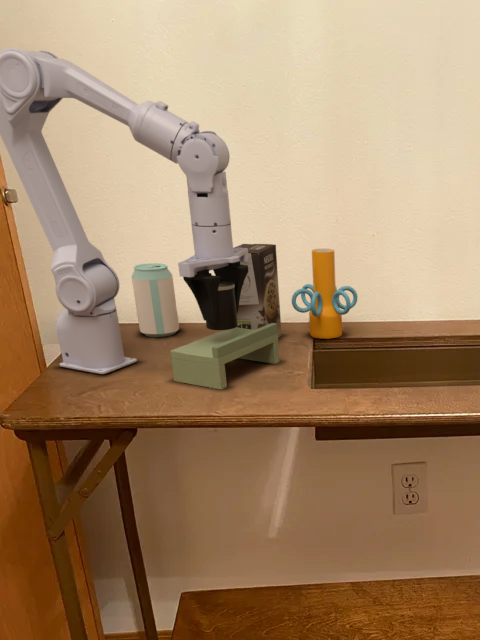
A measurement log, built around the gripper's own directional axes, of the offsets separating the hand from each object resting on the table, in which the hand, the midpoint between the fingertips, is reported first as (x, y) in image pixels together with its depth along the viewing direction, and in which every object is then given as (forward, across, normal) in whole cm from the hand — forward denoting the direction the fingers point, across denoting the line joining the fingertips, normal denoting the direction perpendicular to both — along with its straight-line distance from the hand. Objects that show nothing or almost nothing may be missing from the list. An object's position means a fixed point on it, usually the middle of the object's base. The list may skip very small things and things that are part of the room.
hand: (220, 316), depth 124 cm
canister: (+2, 0, 0) cm, 2 cm away
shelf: (+9, 0, 0) cm, 9 cm away
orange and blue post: (+9, +26, -4) cm, 28 cm away
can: (+9, +13, +24) cm, 29 cm away
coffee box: (+9, +17, +6) cm, 20 cm away
